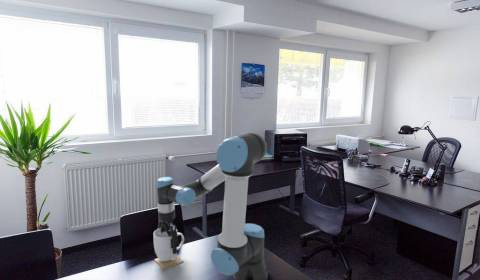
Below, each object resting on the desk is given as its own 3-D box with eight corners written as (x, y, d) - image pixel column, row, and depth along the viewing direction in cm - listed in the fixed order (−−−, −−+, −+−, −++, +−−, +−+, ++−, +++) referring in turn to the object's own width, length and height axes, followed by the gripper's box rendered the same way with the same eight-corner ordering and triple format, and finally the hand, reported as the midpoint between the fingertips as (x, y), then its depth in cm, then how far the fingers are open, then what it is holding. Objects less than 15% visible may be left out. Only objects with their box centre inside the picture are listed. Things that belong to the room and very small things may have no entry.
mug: (178, 246, 152) (177, 222, 150) (189, 255, 144) (189, 230, 141) (150, 256, 143) (149, 231, 140) (160, 267, 134) (159, 240, 132)
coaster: (183, 262, 142) (183, 260, 142) (163, 270, 136) (163, 268, 136) (173, 253, 150) (173, 251, 150) (154, 260, 144) (154, 259, 144)
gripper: (186, 216, 132) (187, 262, 136) (163, 201, 150) (165, 241, 154) (170, 221, 127) (172, 268, 131) (148, 204, 145) (151, 246, 149)
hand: (168, 253), depth 142 cm, fingers closed on mug, 11 cm apart
